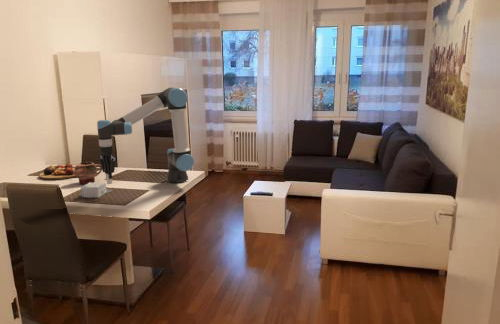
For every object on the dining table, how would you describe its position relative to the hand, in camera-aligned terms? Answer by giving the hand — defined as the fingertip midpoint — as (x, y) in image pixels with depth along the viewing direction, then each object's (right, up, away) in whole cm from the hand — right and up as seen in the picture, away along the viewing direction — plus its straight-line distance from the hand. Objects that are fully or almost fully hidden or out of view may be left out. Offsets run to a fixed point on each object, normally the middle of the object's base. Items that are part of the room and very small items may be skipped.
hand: (109, 183), depth 233 cm
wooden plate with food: (-56, +3, +55) cm, 78 cm away
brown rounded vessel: (-26, -1, +33) cm, 42 cm away
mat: (-11, -6, +7) cm, 15 cm away
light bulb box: (-5, -4, +2) cm, 6 cm away
